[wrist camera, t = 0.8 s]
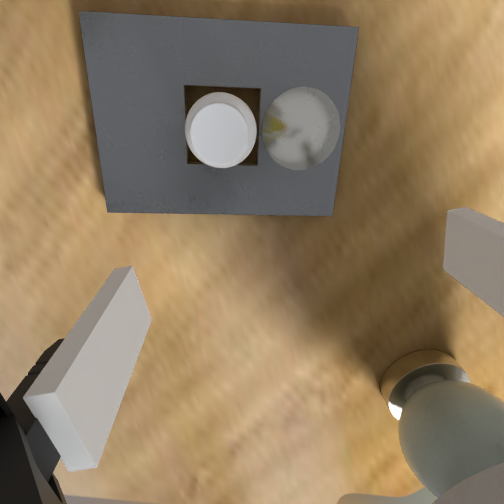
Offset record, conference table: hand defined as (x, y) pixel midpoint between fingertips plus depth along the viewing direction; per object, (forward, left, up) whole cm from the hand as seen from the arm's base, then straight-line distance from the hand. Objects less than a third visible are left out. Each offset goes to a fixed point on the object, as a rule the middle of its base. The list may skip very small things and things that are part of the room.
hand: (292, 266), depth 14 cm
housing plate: (-3, +4, -21) cm, 22 cm away
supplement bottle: (-3, +4, -21) cm, 22 cm away
